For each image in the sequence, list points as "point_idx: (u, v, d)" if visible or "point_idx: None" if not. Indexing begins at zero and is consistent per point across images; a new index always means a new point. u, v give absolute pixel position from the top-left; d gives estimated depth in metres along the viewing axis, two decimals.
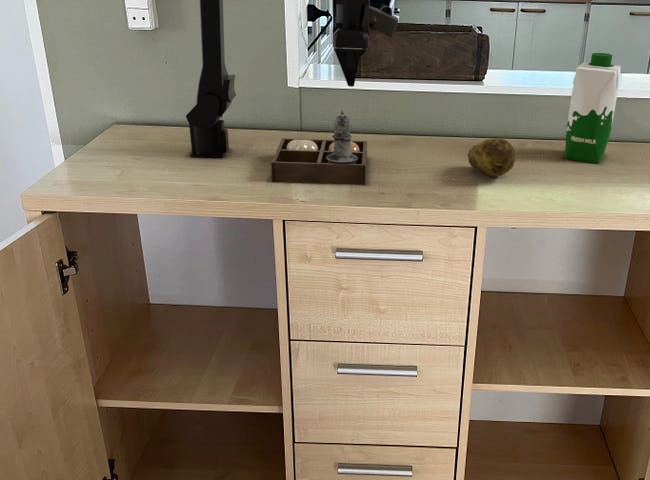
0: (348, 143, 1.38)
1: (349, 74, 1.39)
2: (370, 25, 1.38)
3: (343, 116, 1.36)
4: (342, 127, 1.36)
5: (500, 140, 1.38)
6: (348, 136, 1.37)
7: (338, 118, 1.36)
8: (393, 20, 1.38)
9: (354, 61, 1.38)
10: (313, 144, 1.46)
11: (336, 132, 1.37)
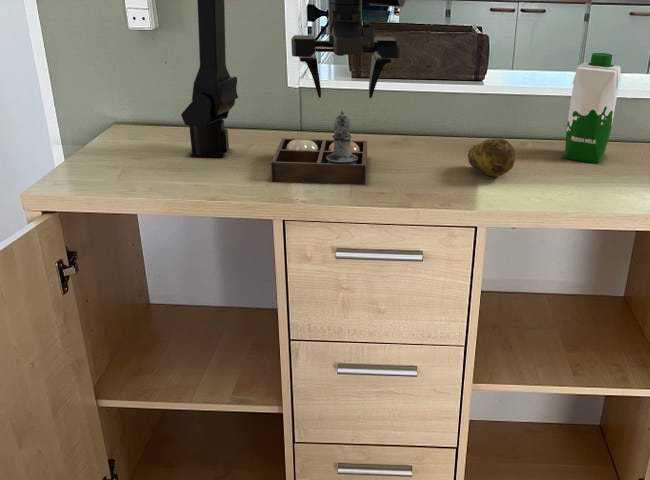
0: (348, 143, 1.38)
1: None
2: None
3: (343, 116, 1.36)
4: (342, 127, 1.36)
5: (500, 140, 1.38)
6: (348, 136, 1.37)
7: (338, 118, 1.36)
8: (334, 36, 1.26)
9: None
10: (313, 144, 1.46)
11: (336, 132, 1.37)
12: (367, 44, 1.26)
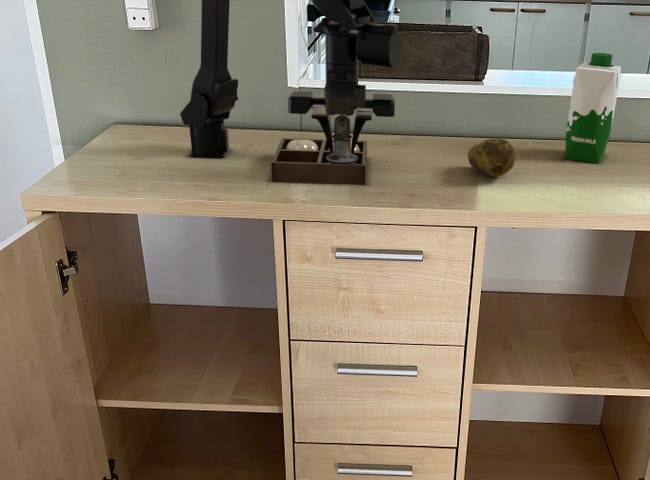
0: (348, 143, 1.38)
1: None
2: None
3: (343, 116, 1.36)
4: (342, 127, 1.36)
5: (500, 140, 1.38)
6: (348, 136, 1.37)
7: (338, 118, 1.36)
8: (325, 97, 1.27)
9: None
10: (313, 144, 1.46)
11: (336, 132, 1.37)
12: (358, 105, 1.27)
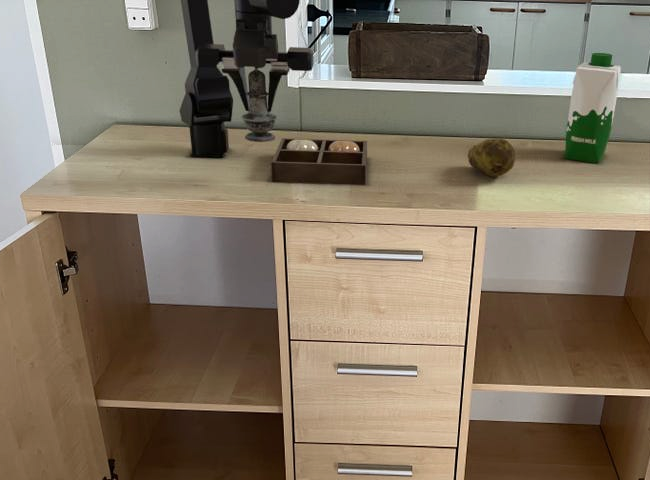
0: (264, 101, 1.28)
1: None
2: None
3: (258, 71, 1.26)
4: (256, 82, 1.26)
5: (500, 140, 1.38)
6: (264, 93, 1.27)
7: (252, 73, 1.25)
8: None
9: None
10: (313, 144, 1.46)
11: (250, 88, 1.26)
12: (268, 56, 1.17)
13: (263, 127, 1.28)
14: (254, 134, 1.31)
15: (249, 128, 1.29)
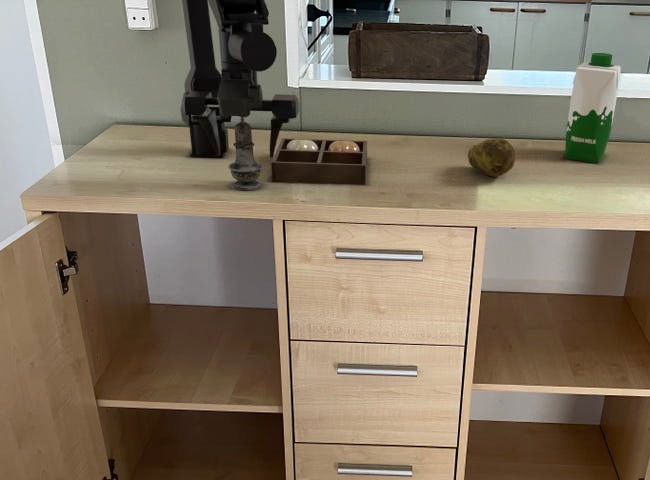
0: (250, 151, 1.31)
1: None
2: None
3: (243, 123, 1.29)
4: (242, 134, 1.29)
5: (500, 140, 1.38)
6: (249, 144, 1.30)
7: (238, 125, 1.29)
8: (217, 97, 1.20)
9: None
10: (313, 144, 1.46)
11: (236, 140, 1.30)
12: (252, 106, 1.20)
13: (249, 177, 1.32)
14: (241, 183, 1.34)
15: (236, 177, 1.32)
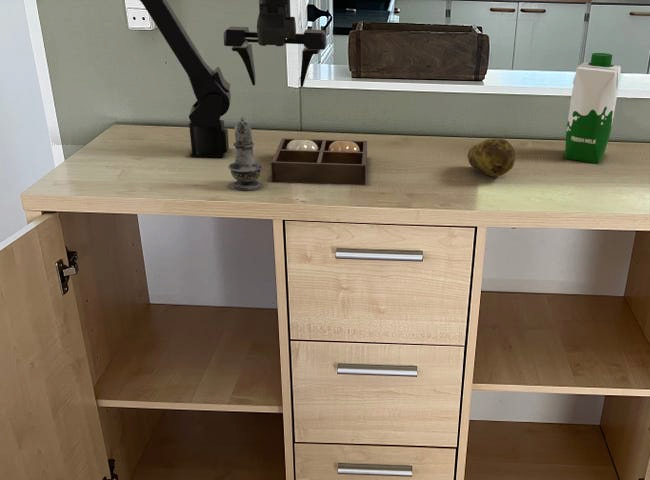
0: (250, 151, 1.31)
1: None
2: None
3: (243, 123, 1.29)
4: (242, 134, 1.29)
5: (500, 140, 1.38)
6: (249, 144, 1.30)
7: (238, 125, 1.29)
8: None
9: None
10: (313, 144, 1.46)
11: (236, 140, 1.30)
12: (287, 35, 1.35)
13: (249, 177, 1.32)
14: (241, 183, 1.34)
15: (236, 177, 1.32)
